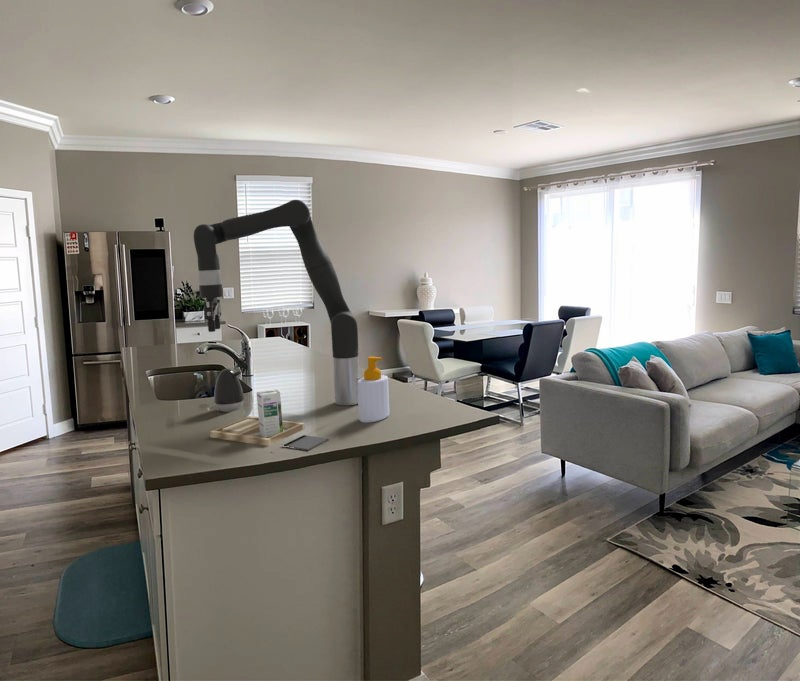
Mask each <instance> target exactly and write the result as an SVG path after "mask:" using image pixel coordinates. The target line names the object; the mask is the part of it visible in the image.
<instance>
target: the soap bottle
mask: <svg viewBox="0 0 800 681" xmlns="http://www.w3.org/2000/svg"><path fill="white" fill-rule="evenodd" d="M379 361H383V357H379V356H368V357H367V366H368V367H367V368H366V369H365V370H364V372H363V377H362V378H360V380H358V382H357V388H358V404H357V405H358V420H359V422H360V423H367V424H368V423H369V424H370V423H374V422H379V421H382V420H384V419H386V418H388V417H389V415H390V393H389V392H390V391H389V377H388V376H387V375H384V374H382V370H381V369H380V368H378V367H377V362H379Z"/></svg>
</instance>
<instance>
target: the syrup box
mask: <svg viewBox="0 0 800 681" xmlns="http://www.w3.org/2000/svg"><path fill="white" fill-rule="evenodd" d="M256 401H257V402H256V405H257V412H258V414H257V415H258V417H259V428H260V432H259V435H260V437H263V438H270V437H272V436H274V435H276V434H278V433H281V432H283V431H284V427H283V425H282V420H283V412H282V398H281V391H279V390H278V389H269V390H260V391H256Z"/></svg>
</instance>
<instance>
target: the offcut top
mask: <svg viewBox="0 0 800 681" xmlns="http://www.w3.org/2000/svg"><path fill="white" fill-rule="evenodd" d="M256 426H259V420H252V419H246V420H244V421H241V422H238V423H236V424H233V425H231V426H228V427H226V428H223V429H222V430H223V432H228V433H235V434H240V433H242V432H244V431H247V430H249V429H252V428H254V427H256Z"/></svg>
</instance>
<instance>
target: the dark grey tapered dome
mask: <svg viewBox="0 0 800 681" xmlns="http://www.w3.org/2000/svg"><path fill="white" fill-rule="evenodd" d="M241 374H242V371H241V370H239V371H236V372H235V371H234V370H232V369H231V368H224V369H222V370H221V371H220V372H219V374H218V376H217V378H216V382H215V387H214V392H213V394H214V395H213V401H214V402H213V403H214V404H215V406H216V408H217V409H218V410H219V411H221V412H222V411H223V412H222V413H233V412H235V411H238V410H240V409H241V407H242V406H243V403H244V400H245V397H244V391H243V387H242V385H241V382H240V380H239V377H238V376H239V375H241ZM232 411H233V412H232Z"/></svg>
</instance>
